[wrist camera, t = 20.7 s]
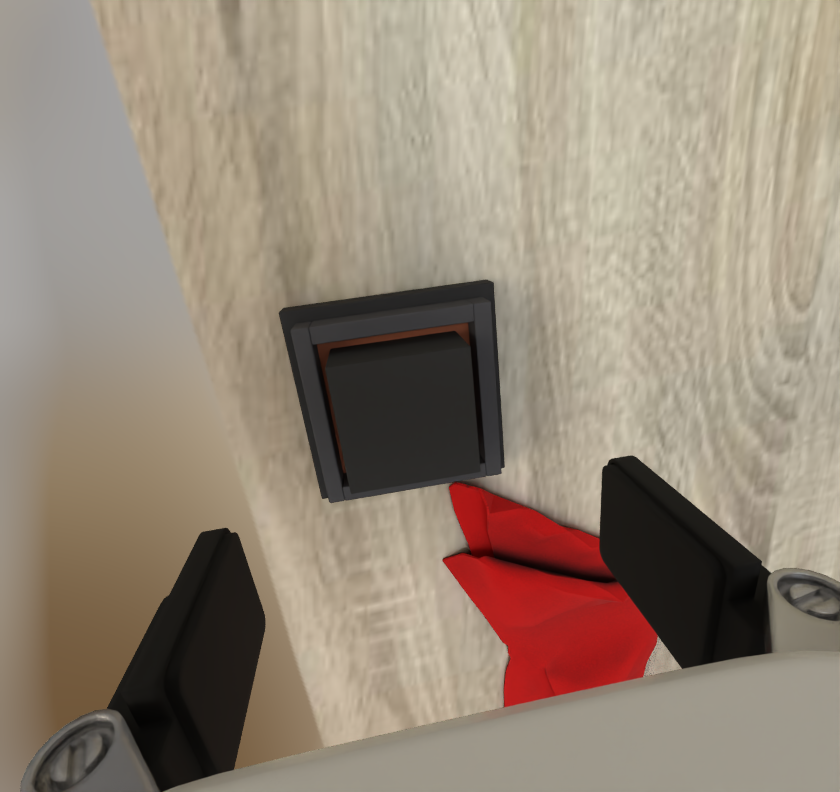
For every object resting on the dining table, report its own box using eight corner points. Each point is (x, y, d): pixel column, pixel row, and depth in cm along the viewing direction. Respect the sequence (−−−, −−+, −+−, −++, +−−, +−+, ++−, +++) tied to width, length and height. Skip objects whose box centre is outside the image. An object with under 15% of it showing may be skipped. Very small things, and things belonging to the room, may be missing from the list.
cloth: (677, 705, 35) (698, 735, 33) (512, 761, 35) (522, 794, 33) (645, 418, 26) (670, 434, 24) (418, 491, 26) (424, 514, 24)
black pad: (352, 461, 23) (350, 494, 20) (329, 348, 21) (324, 367, 18) (465, 442, 24) (481, 472, 21) (455, 330, 21) (470, 345, 18)
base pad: (323, 487, 25) (319, 516, 22) (282, 307, 21) (272, 317, 19) (498, 457, 26) (513, 482, 23) (487, 279, 22) (503, 285, 20)
